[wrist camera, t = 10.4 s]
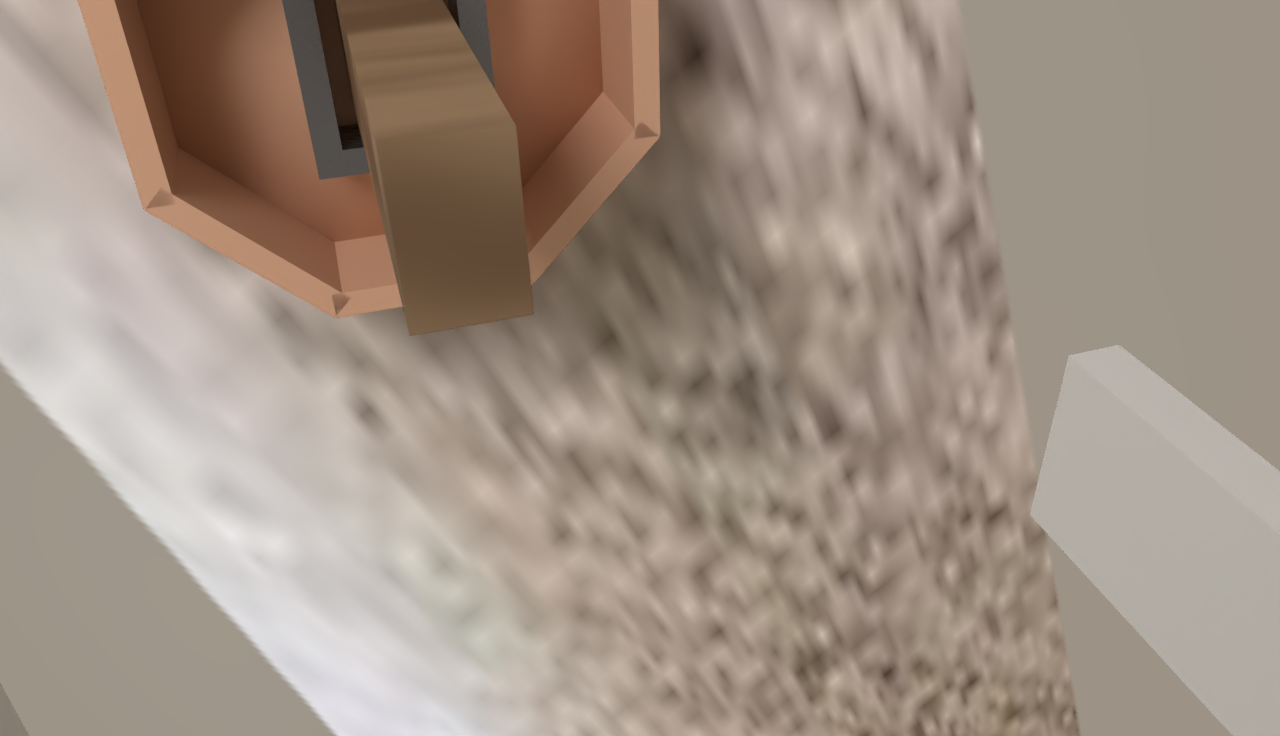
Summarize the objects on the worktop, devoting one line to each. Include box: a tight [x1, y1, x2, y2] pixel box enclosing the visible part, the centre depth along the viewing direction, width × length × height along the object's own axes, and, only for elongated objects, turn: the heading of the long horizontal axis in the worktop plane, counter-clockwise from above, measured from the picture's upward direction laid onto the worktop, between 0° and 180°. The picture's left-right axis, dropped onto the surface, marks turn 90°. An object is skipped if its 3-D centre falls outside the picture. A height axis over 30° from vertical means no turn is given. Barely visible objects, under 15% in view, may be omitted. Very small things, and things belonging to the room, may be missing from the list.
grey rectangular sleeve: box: [282, 0, 495, 180], centre depth 30 cm, size 7×5×2 cm
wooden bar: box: [335, 0, 534, 336], centre depth 26 cm, size 4×2×14 cm, turn 2°
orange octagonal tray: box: [78, 0, 660, 318], centre depth 30 cm, size 15×15×4 cm
